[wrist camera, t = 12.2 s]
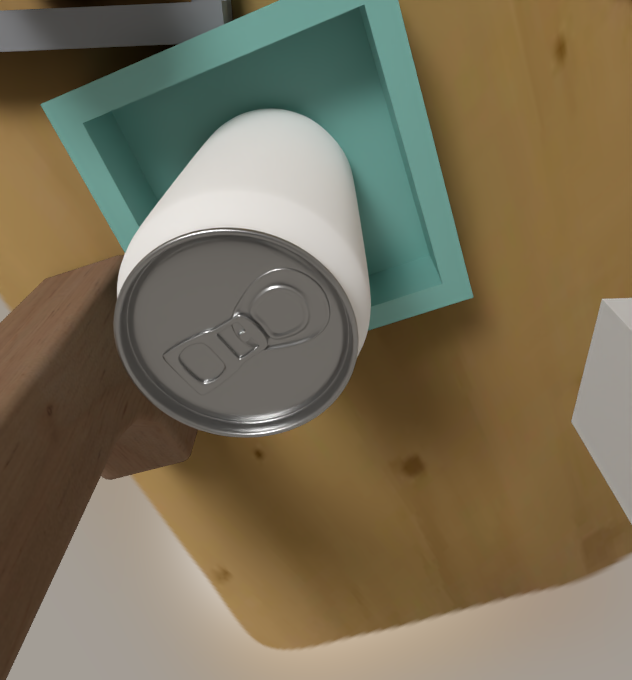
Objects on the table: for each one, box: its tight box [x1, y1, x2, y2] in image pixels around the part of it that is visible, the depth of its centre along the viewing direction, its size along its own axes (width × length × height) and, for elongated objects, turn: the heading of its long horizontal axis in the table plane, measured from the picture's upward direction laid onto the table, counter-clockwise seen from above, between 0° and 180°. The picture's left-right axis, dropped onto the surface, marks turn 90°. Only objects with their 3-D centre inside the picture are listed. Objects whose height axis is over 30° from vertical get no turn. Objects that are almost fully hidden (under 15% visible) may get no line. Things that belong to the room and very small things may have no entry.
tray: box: [40, 0, 473, 330], centre depth 22 cm, size 12×12×4 cm
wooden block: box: [0, 256, 198, 680], centre depth 20 cm, size 9×4×18 cm, turn 18°
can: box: [113, 108, 371, 437], centre depth 18 cm, size 6×6×12 cm
